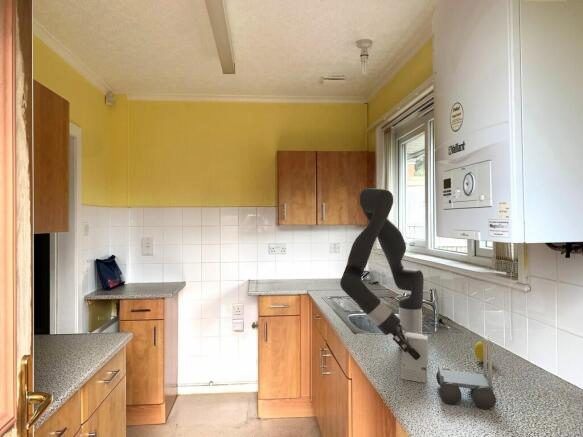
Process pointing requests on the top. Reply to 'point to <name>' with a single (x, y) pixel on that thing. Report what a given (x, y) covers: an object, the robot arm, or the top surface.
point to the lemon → (480, 350)
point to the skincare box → (410, 366)
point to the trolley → (469, 382)
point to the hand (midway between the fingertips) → (418, 353)
